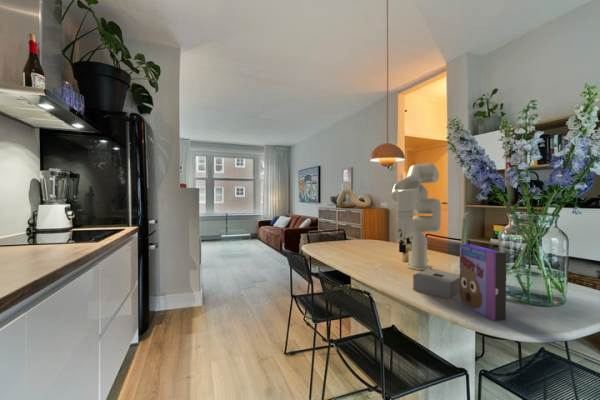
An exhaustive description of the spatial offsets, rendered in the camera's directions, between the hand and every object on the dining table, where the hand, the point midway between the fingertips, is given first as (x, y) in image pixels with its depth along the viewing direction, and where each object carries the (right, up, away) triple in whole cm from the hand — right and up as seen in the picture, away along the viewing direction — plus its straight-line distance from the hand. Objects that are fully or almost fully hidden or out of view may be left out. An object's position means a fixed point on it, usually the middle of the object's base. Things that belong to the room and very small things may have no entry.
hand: (405, 251), depth 135 cm
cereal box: (+17, -17, -30) cm, 39 cm away
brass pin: (0, -5, 0) cm, 5 cm away
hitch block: (+12, -17, -8) cm, 22 cm away
